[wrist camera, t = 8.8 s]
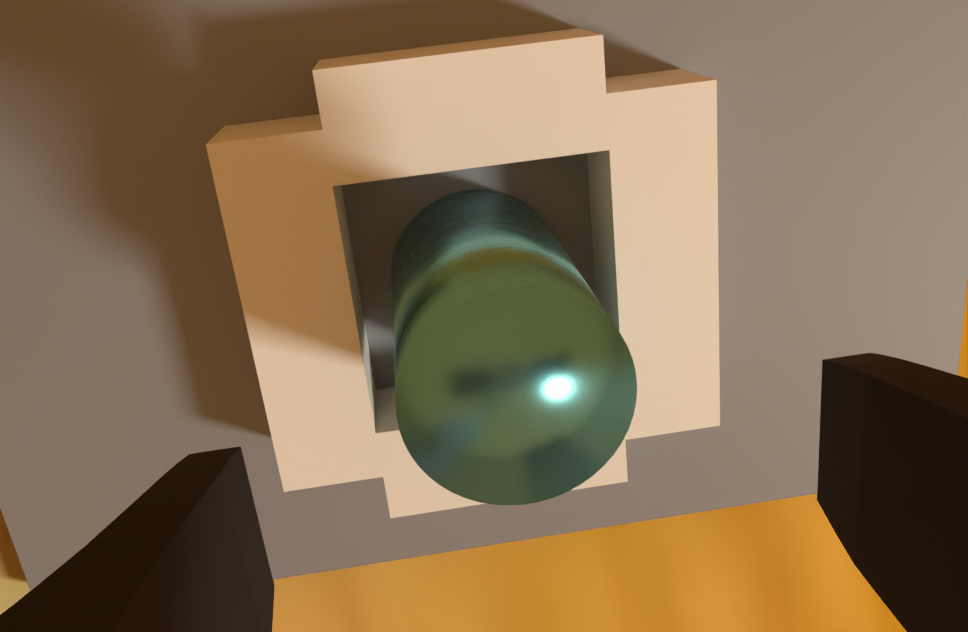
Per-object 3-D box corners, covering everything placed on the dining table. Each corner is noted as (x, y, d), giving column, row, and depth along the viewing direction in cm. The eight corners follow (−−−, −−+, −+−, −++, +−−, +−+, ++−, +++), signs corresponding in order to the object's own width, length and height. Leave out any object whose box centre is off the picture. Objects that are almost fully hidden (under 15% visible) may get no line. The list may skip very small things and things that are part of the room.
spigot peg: (412, 368, 19) (425, 528, 14) (372, 211, 18) (368, 318, 12) (573, 331, 19) (651, 475, 14) (544, 172, 18) (618, 260, 12)
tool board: (54, 588, 21) (5, 680, 19) (-165, -30, 16) (-278, -30, 13) (924, 452, 23) (1000, 518, 20) (978, -157, 18) (1091, -182, 15)
